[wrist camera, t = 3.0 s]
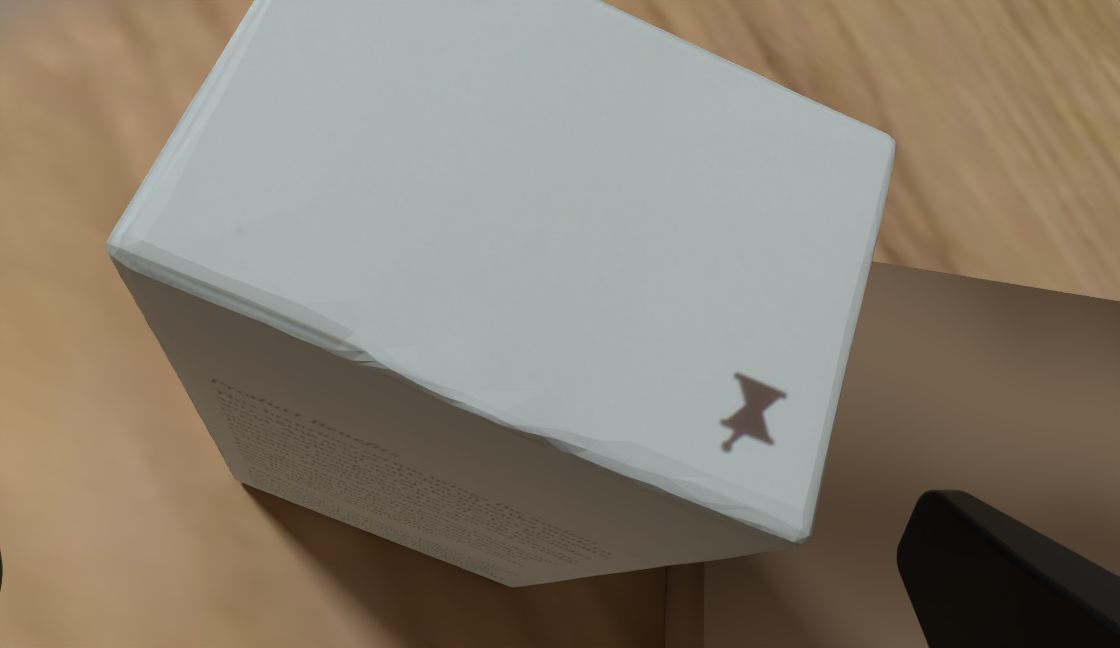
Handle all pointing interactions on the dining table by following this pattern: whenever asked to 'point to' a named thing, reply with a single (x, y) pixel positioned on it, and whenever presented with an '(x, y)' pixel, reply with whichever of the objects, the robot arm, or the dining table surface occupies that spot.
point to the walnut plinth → (931, 458)
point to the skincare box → (511, 280)
